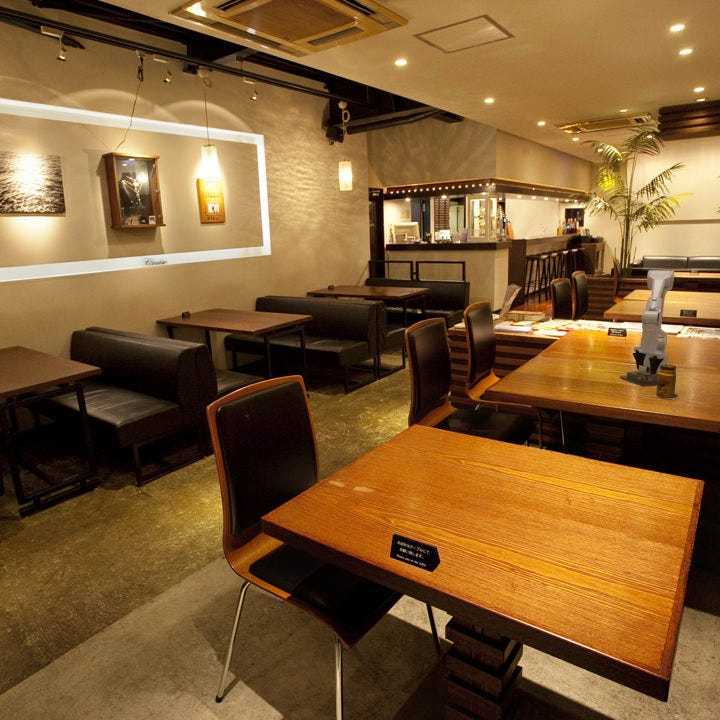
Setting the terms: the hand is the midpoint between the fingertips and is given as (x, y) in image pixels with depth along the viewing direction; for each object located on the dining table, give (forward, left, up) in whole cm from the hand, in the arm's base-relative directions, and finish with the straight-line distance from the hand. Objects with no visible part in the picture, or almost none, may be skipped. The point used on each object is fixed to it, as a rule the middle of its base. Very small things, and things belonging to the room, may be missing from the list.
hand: (646, 371), depth 227 cm
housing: (0, 0, -4) cm, 4 cm away
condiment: (+7, +19, -4) cm, 21 cm away
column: (0, 0, -4) cm, 4 cm away
